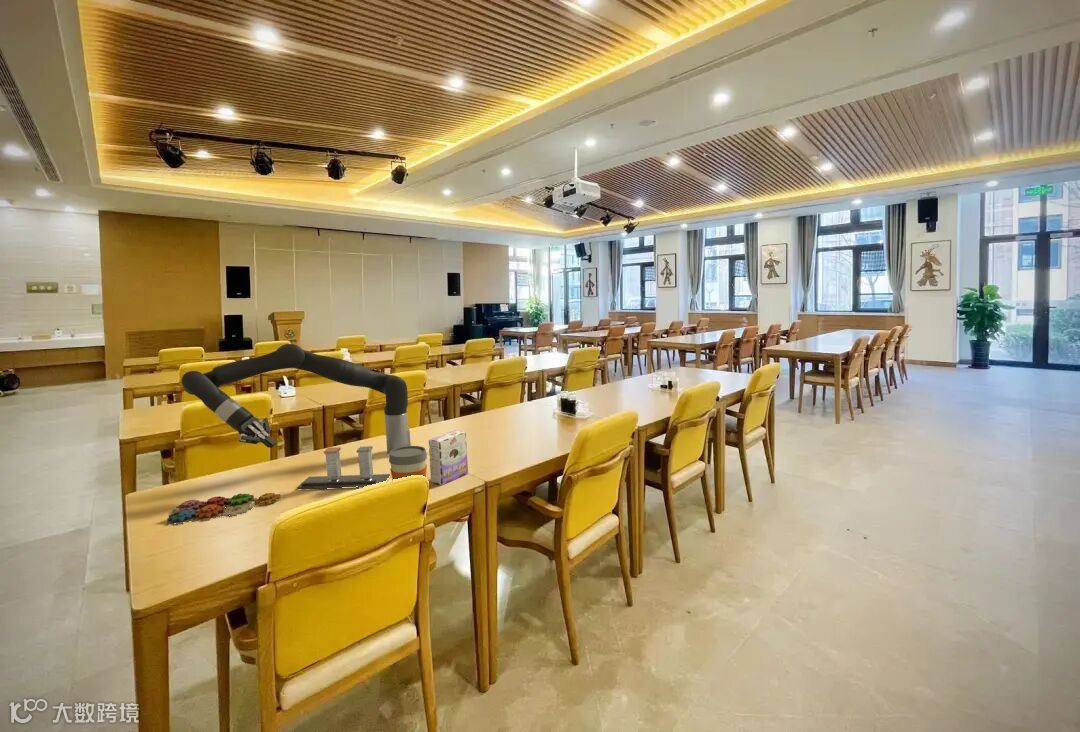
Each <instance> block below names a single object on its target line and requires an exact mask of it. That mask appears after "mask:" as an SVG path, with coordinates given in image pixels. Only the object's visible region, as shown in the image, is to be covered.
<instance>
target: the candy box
mask: <svg viewBox="0 0 1080 732" xmlns="http://www.w3.org/2000/svg"><path fill="white" fill-rule="evenodd" d="M466 433H467V432H466V431H461V430H452V431H450V432H447V433H443V434H440V435H438V436H435V437H431V438H429V439H428V452H429V467H430V482H431V483H433V484H435V485H438V486H444V485H446V484H448V483H451V482H452V481H455V480H457V479H459V478H461V477H463V476H465V475H467V474H468V473H469V468H468V467H469V465H468V451H467V434H466Z"/></svg>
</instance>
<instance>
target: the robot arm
mask: <svg viewBox="0 0 1080 732" xmlns="http://www.w3.org/2000/svg"><path fill="white" fill-rule="evenodd" d="M285 369H296V370H301V371H306V372H310V373H312V374H315V375H317V376H320V377H322V378H325V379H327V380H330V381H333V382H337V383H339V384H343V385H346V386H352V387H359V388H362V387H363V388H367V389H368V388H369V389H372V390H373V391H376V392H379V393H382V394H383V395H385V407H384V409H383V411H384V412H383V413H384V423H385V425H384V427H385V439H386V441H385V442H386V453H387V454H388V455H389V452H390V451H391V450H393V449H396V448H399V447H404V446H412V443H411V431H410V429H409V426H408V425H409V424H408V423H409V422H408V412H407V411H408V409H407V408H408V405H409V403H408V402H409V401H408V400H409V399H408V398H409V396H408V386H407V382H406V381H405V379H404V378H402V377H401V376H400V377H399V376H397V375H393V374H387V373H383V372H378V371H373V370H371V369H369V368H367V367H365V366H363V365H360V364H358V363H355V362H352V361H348V360H345V359H341V358H336V357H332V356H328V355H321V354H316V353H313V352H310V351H308V350H305V349H303V348H302V347H301V346H299V345H297V344H293V343H286V344H282V345H280V346H279V347H277V349H276V350H274V351H272V352H269V353H266V354H264V355H260V356H255V357H251V358H250V357H249V358H244V359H241V360H236V361H232V362H228V363H224V364H220V365H217V366H215V367H213V368H212V370H210V371H207V372H204V373H202V372H201V371H198V370H189V371H187V372H185V373H183V375H182V377H181V380H180V383H181V385H182V387H183V390H184V391H185V393H187V394H189V395H192V396H195V397H196V398H197V399H200V401H201V403H203V405H204V406H205V407H207V409H209V410H210V411H212V412H213V413H214V414H215V415H216V416H217V417H218V418H219V419H220V420H221V421H223V422H224V423H225V424H227V425H228V426H229V427H231V428H232V429H233V430H234V431H237V432H238V434H239V435H240V438H238V442H239V443H244V444H251V445H258V444H259V443H260V444H261V443H262V444H263V445H264V446H265V447H267V448H270V449H273V448H274V447H275V446H276V440H275V439H274V438H272V437H271V436H270V435H269V434H270V433H271V428H270V423H269V419H268V418H267V417H265V418H264V419H259V418H258V417H256V416H254V414H253V413H252V412H250V411H249V410H248V409H247V408H246V407H245V406H243V405H242V404H241V403H239V402H238V401H237V400H234V399H233V398H232V397H230V396H229V395H228V394H227V393H226V392H224V391H222V390H221V389H220V387H221V386H226V385H228V384H233V383H236V382H239V381H242V380H246V379H248V378H251V377H254V376H258V375H260V374H264V373H268V372H269V373H270V372H273V371H278V370H279V371H280V370H285Z"/></svg>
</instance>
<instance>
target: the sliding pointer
mask: <svg viewBox="0 0 1080 732" xmlns="http://www.w3.org/2000/svg"><path fill="white" fill-rule="evenodd" d="M340 451H341V447H339V446H338V447H337V446H336V447H327V448H326V449H324V451H323V455H324V454H325V463H326V476H327V477H328V480H338V479H339V478H340V477H341V476H342V467H341V466H342V465H341V456H340V455H341V454H340Z"/></svg>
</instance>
